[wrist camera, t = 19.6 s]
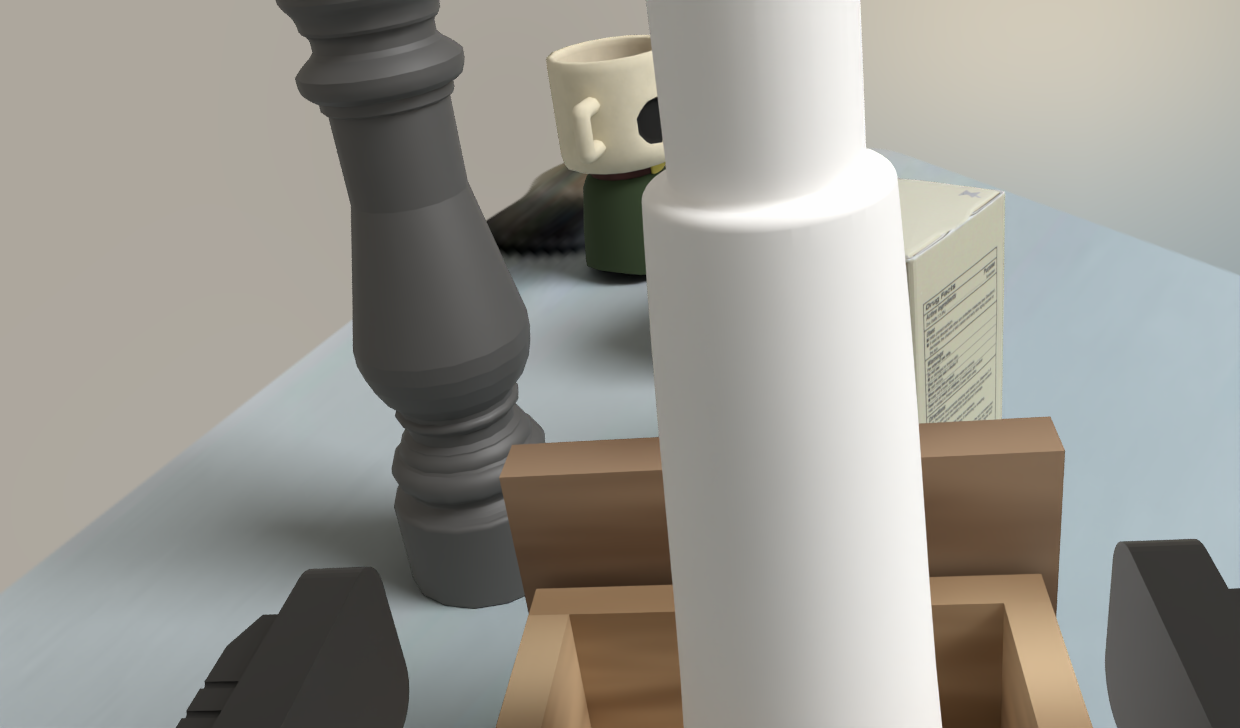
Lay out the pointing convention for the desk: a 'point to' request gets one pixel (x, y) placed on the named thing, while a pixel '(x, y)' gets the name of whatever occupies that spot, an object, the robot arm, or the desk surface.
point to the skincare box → (955, 297)
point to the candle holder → (424, 287)
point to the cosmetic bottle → (784, 376)
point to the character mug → (609, 141)
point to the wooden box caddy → (644, 601)
